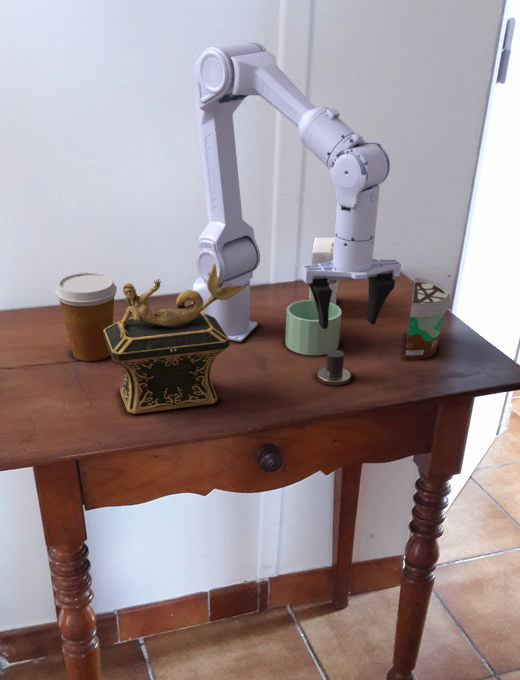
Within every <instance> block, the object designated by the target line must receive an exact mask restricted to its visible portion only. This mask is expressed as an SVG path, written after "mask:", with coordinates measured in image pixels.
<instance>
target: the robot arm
mask: <svg viewBox="0 0 520 680" xmlns="http://www.w3.org/2000/svg"><path fill="white" fill-rule="evenodd" d="M193 66H194V69H193V70H194V76H195V85H196V93H195V94H196V95H195V101H194V102H195V103H194V104H195V115H196V123H197V131H198V133H197V134H198V141H199V149H200V158H201V159H200V160H201V167H202V176H203V184H204V185H203V186H204V192H205V201H206V202H205V203H206V212H207V219H208V222H207V225H206V226H205V228H204V229H203V230H202V232H201V233H200V234H199V237H198V238H197V244H198V245H197V246H198V247H197V248H198V251H197V255H196V269H197V271H198V274H199V276H198V277H197V278H196V279H195V281H194V283H193V286H192V290H193V291H196V292H198V293H199V294H200V295H201V297H202V299H203V304H204V303H205V302H206V301H207V299H208V298H209V297H210V296H211V293H210V292H209V290H208V288H207V280H208V277H209V274H210V272H211V269H212V266H213V264H214V263H215V265H216V270H217V277H218V286H217V288H218V289H220V288H221V287H223V286H246V287H245V288H244V289H242V290H241V291H239V292H238V293H236V294H235V295H234V296H232V297H231V298H229V299H227V300H219V299H217V300H215V301H214V302H212V303H211V304H210V305H208V306H207V307H206V308H205V309H204V310H203V311H201V312H203V313H205V314H207V315H210V316H212V317H214V318H216V320H217V321H218V323H219V325H220V326H221V328H222V329H223V331H224V332H225V334H226V335H227V337H228V338H229V341H233V342H239V343H241V342H243V341H244V340H245V339H246V338H247V337H248V336H249V335H250V333H252V332H253V330H254V329H255V328H257V326H258V322H257V321H253V320H250V318H251V317H250V311H251V310H250V309H251V307H250V305H251V280H252V279H253V277H254V271H256V269H258V267H259V265H260V263H261V252H260V249H259V245H258V243H257V241H256V238H255V230H254V228H253V227H252V226H251V225H250V224H249V223H248V222H246V221H245V220H244V219H243V210H242V200H241V190H240V189H241V188H240V179H239V177H240V176H239V168H238V167H239V166H238V157H237V147H236V136H235V127H234V126H235V125H234V113H235V112H236V110H237V109H238V108H239V107H240V105H241V104H242V103H243V101H244V100H245V99H246V98H247V97H249V96H258V97H261V98H262V99H263V100H264V101H266V102H267V103H268V104H269V105H270V106H272V107H273V108H274V109H275V110H277V111H278V113H279V114H281V115H283V117H285V118H286V119H287V120H288V121H290V122H291V123H292V124H293V125H294V126H295V127H297V128H298V133H299V135H298V137H299V141H300V143H301V144H302V145H303V146H304V147H306V149H307V150H309V152H311V153H312V154H313V155H314V156H315V157H316V158H317V159H318V160H319V162H321V163H322V164H323V165H324V166H325V167H326V168H327V169H328V170H329V175H330V179H331V183H332V185H333V187H334V189H335V201H336V213H335V225H334V226H335V227H334V237H333V238H334V252H333V261H328V262H324V263H320V264H315V265H311V264H310V265H303V266H302V273H301V279H302V281H303V282H304V283H305V284H308V286H309V290H310V289H311V291H312V294H313V297H314V300H315V303H316V307H317V312H318V318H319V325H320V326H321V327H322V329H327V327H328V314H329V304H330V299H331V295H332V290H331V288H330V287H329V283H328V280H337V279H338V280H349V279H350V280H351V279H353V280H366V279H367V281H368V299H367V305H366V320H367V322H368V323H369V324H370V325H371V326H372V325H376V324H377V320H378V317H379V314H380V312H381V310H382V308H383V306H384V304H385V302H386V300H387V298H388V297H389V295H390V294H391V292H392V291H393V290H394V289H395V285H396V280H395V279H394V278H396V277H397V278H398V277H401V269H402V263H401V262H400V261H399V260H398V259H379V258H377V259H376V258H374V249H375V239H376V230H377V229H376V228H377V218H378V209H379V199H380V191H381V190H380V188H381V184H383V183H384V182H385V181H386V180H387V179H388V176H389V174H390V170H391V162H390V156H389V155H388V152H387V151H386V149H385V148H384V147H383V145H382V144H381V143H380V142H378V141H374V140H369V141H367V140H365V139H364V137H363V135H362V134H360V133H358V132H357V133H356V132H355V131H354V130H353V129H352V128H350V126H349V125H348V124H347V123H346V122H344V121H343V120H342V119H341V118H340V115H341V113H340V112H339V111H338V110H337V109H335V108H329V107H328V106H320V107H316V106H315V105H314V104H313V103H312V102H311V101H310V100H309V99H308V98H307V96H306V95H304V93H303V92H302V91H301V90H300V89H299V88H298V86H296V84H295V83H293V81H292V80H291V79H290V78H289V77H288V76H287V75H286V73H285V72H283V70H282V69H281V68H280V66H278V64H277V61H276V57H275V55H274V53H272V52H270V51H268V50H267V49H266V47H265V46H264V45H263V43H260V42H259V41H254V40H253V41H247V42H245V43H240V44H232V45H225V46H211V47H210V46H209V47H208V48H206V49H205V50H204V51H202V53H201V55H200V56H199V58H198V59H197V60H196V62H195V63H194V65H193ZM393 277H394V278H393ZM192 304H193V302H192V301H191V305H192Z"/></svg>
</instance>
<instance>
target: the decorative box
mask: <svg viewBox="0 0 520 680" xmlns="http://www.w3.org/2000/svg"><path fill="white" fill-rule="evenodd" d="M160 280H161V278H156V280H154V281H153V283H154V286H152V287H151V288H150V289H148V290H147V291H146V292H143V293H142V294H141V295H138V293H137V290H136V288H135V286H134V285H133V284H132V283H125V284H124V285H123V288H122V292H123V294H124V296H125V300H126V303H127V304H128V305H129V306H128V307H126V308H127V309H126V311H125V314H124V315H123V318H122V319H119V320H118V321H116V322H113V325H111V326H109V327H107V328H105V329H104V330H103V334H104V338H105V341H106V343H107V346H108V349H109V351H110V354H111V355H110V356H111V360H112V361H114V362H115V363H117V364H118V365H119V366H120V367H122V368H123V369H124V378H123V381H122V384H121V386H120V389H119V393H120V394H121V398H122V400H123V403H124V406H125V408H126V412H127V413H131V414H134V415H136V414H137V415H139V414H144V413H153V412H160V411H167V410H168V411H169V410H175V409H182V408H190V407H198V406H206V405H213V404H215V403H216V402H218V396H217V393H216V390H215V388H214V386H213V382H212V376H211V371H212V366H213V363H214V361H215V359H217V357H218V356H219V355H220V354H221V353H223V352H224V351H225V350H226V349H228V348H229V347H230V340H229V338H228V337H227V335H226V334H225V332H224V331H223V329H222V328H221V326H220V325H219V323H218V321H217V320H216V318H214V317H212V316H210V315H207V314H205V313H203V312H201V311H203V310H204V309H205V308H206V307H207V306H208V305H210V304H211V303H212V302H214V301H215V300H217V299H219V300H227V299H229V298H231V297H232V296H234V295H235V294H236V293H238V292H239V291H241V290H242V289H244V288H245V287H246V286H223V287H221V288H220V289H218V288H217V286H218V277H217V270H216V265H215V263H214V264H213V266H212V269H211V272H210V274H209V277H208V280H207V288H208V290H209V292H210V293H211V296H210V297H209V298H208V299H207V301H206V302H205V303H204V304H203V299H202V297H201V295H200V294H199V293H198V292H196V291H193V289H186V290H184V291H182V292H180V293H179V295H178V296H177V298H176V300H175V304H176V307H177V308H163V309H160V310H157V312H155V313H153V311H152V309H151V306H150V303H149V301H148V298H150V297H151V296H152V295H153V294H154V293H156V292H157V291H158V290H159V289H160V287H161V283H162V280H161V281H160ZM187 301H191V304H189V305H187V306H186V305H185V303H186V302H187ZM192 302H193V304H192ZM131 315H132V316H133V317H130V316H131Z"/></svg>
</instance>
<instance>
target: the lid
mask: <svg viewBox="0 0 520 680" xmlns="http://www.w3.org/2000/svg"><path fill="white" fill-rule="evenodd" d="M344 360H345V353H344V351H342V350H339V349H336V350H330V351H328V352H327V354H326V363H325V365H326V366H325V367H321V368H320V369H318V371H317V373H316V378H317V380H318V381H319V382H320V383H322V384H325V385H328V386H342V385H346V384H348V383H349V382H350V381H351V378H352V377H351V376H352V374H351V372H350V371H349V369H347V368H344Z"/></svg>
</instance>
